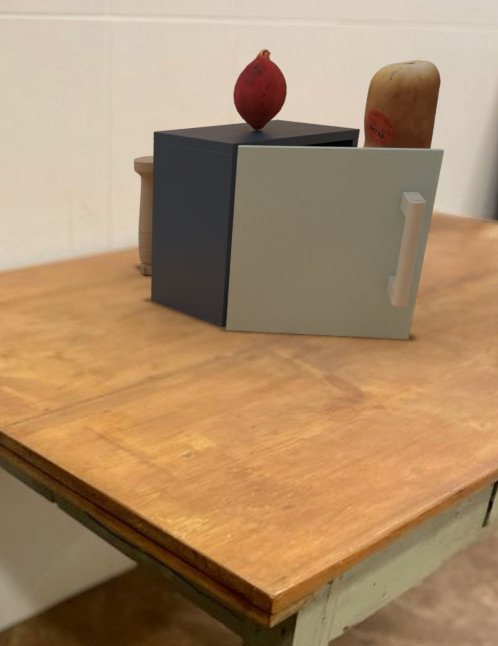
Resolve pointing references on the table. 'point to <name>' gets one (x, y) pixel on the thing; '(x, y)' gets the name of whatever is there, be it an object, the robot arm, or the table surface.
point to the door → (330, 239)
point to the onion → (260, 91)
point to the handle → (145, 212)
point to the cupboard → (209, 206)
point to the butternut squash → (402, 106)
